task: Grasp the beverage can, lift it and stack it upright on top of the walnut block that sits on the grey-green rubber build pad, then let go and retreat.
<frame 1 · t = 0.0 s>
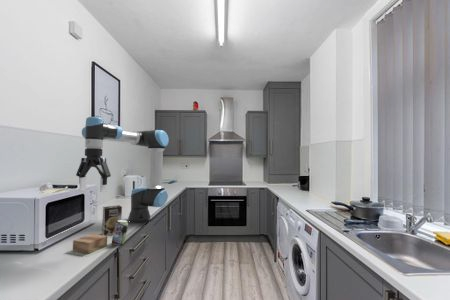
hand: (92, 191, 107), 28 cm above the worktop, fingers open, 13 cm apart
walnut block: (90, 248, 105), resting on build pad
beverage can: (119, 244, 111), on the worktop
coffee box: (111, 234, 126), on the worktop
build pad: (90, 249, 105), on the worktop
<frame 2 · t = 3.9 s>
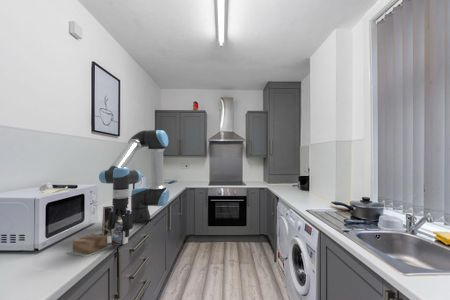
hand: (119, 242, 111), 1 cm above the worktop, fingers closed on beverage can, 7 cm apart
beverage can: (119, 244, 111), on the worktop, touching build pad, gripper
everything else where it was.
when the fingers open (7 cm above the worktop, at t = 9.5 s): beverage can stays where it is, resting on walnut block.
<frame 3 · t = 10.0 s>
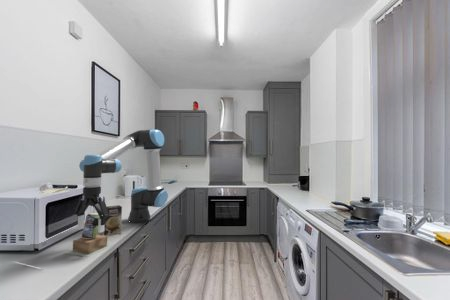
hand: (90, 230, 105), 9 cm above the worktop, fingers open, 13 cm apart
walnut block: (90, 248, 105), resting on build pad, touching beverage can
beverage can: (90, 238, 105), point 5 cm above the worktop, touching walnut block
everything else where it was.
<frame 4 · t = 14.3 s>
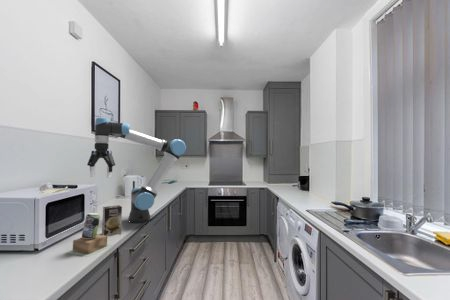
hand: (100, 177, 134), 33 cm above the worktop, fingers open, 13 cm apart
nothing on the worktop moved.
at the end: beverage can 0.1 cm from the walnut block (horizontally); beverage can point 5.3 cm above the worktop; beverage can tilted 0° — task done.
